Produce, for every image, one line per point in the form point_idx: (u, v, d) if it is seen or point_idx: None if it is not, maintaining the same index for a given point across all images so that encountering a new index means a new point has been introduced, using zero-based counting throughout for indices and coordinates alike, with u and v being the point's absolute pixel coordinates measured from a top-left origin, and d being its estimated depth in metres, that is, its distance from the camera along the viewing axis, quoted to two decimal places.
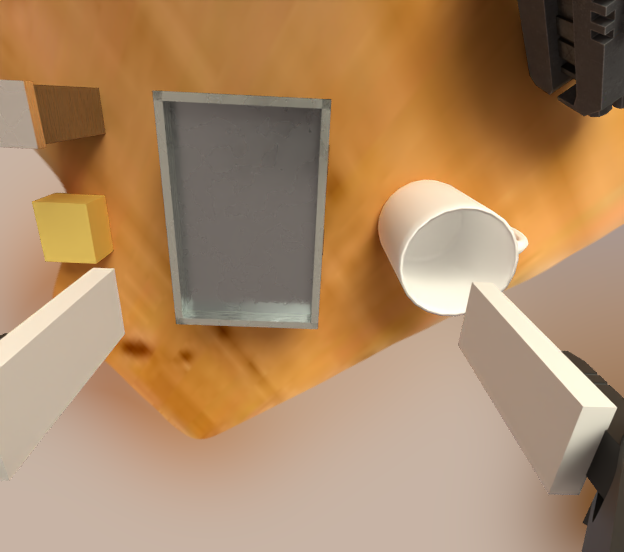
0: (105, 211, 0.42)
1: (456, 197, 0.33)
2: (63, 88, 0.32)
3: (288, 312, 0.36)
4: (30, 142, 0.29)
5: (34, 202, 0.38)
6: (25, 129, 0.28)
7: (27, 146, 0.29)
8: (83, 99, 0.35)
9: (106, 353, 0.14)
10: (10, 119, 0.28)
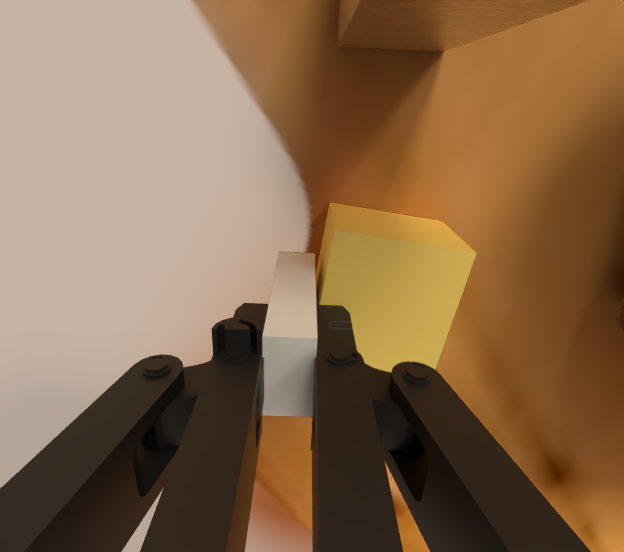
0: None
1: None
2: None
3: None
4: None
5: (340, 232, 0.14)
6: None
7: None
8: None
9: None
10: None
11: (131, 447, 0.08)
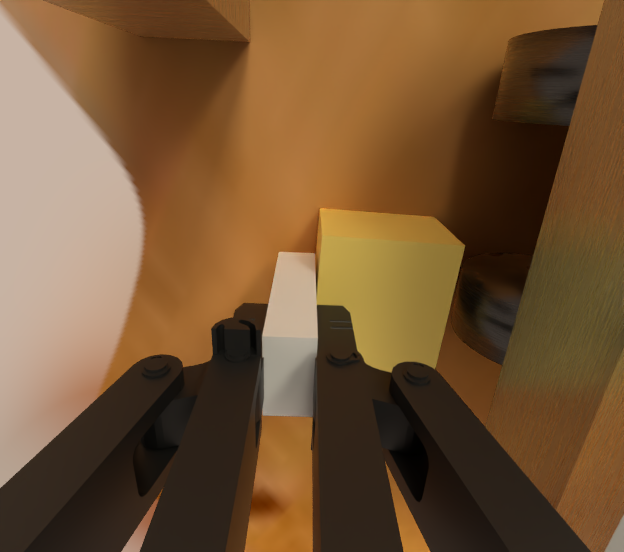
0: None
1: None
2: None
3: None
4: None
5: (327, 237, 0.14)
6: None
7: None
8: None
9: None
10: None
11: (131, 447, 0.08)
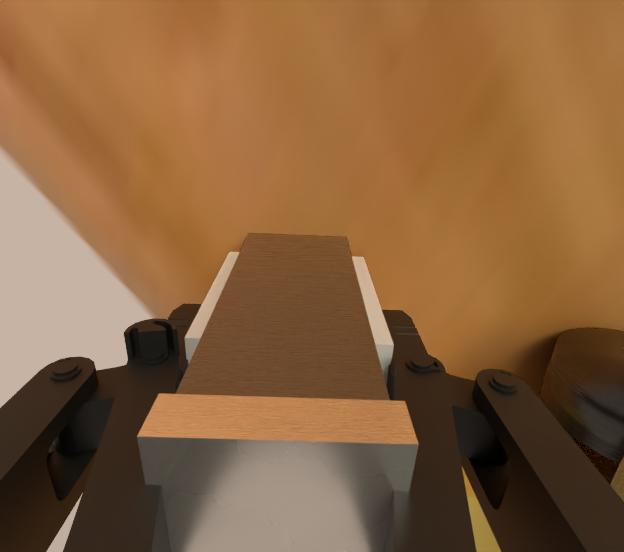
0: None
1: None
2: (363, 306, 0.11)
3: None
4: None
5: None
6: None
7: None
8: None
9: None
10: (317, 544, 0.07)
11: (43, 450, 0.08)
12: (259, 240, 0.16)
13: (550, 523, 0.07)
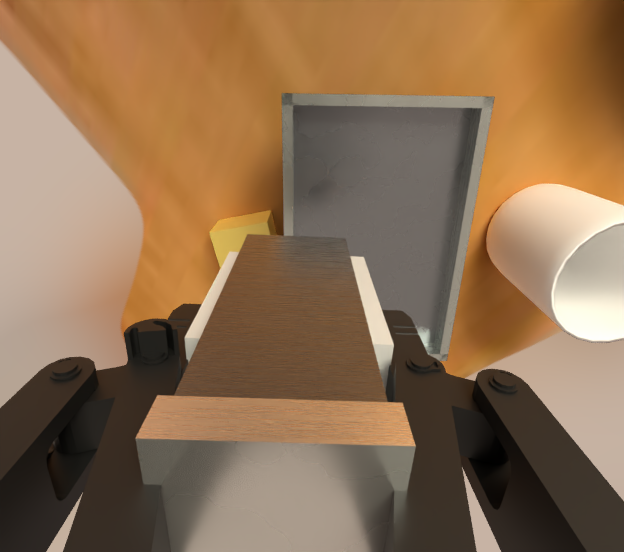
0: (274, 227, 0.37)
1: (612, 205, 0.28)
2: (361, 308, 0.11)
3: None
4: None
5: (211, 233, 0.34)
6: None
7: None
8: None
9: None
10: (315, 545, 0.07)
11: (44, 450, 0.08)
12: (258, 241, 0.16)
13: (550, 523, 0.07)
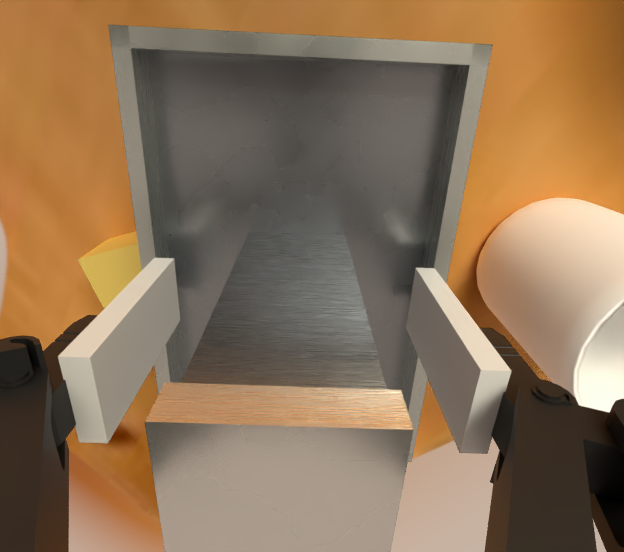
0: None
1: None
2: (362, 302, 0.12)
3: None
4: None
5: (81, 259, 0.24)
6: (361, 550, 0.08)
7: None
8: None
9: (168, 336, 0.15)
10: (317, 527, 0.08)
11: None
12: (259, 238, 0.16)
13: None
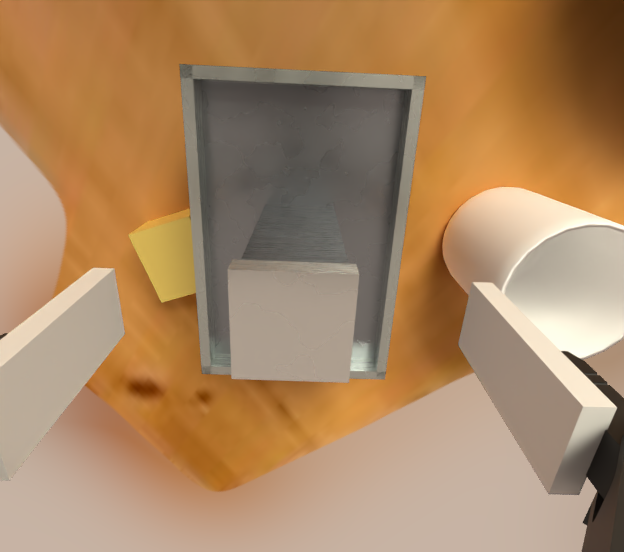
0: None
1: (569, 209, 0.25)
2: (341, 237, 0.18)
3: None
4: (338, 372, 0.15)
5: (130, 235, 0.31)
6: (335, 353, 0.15)
7: (330, 379, 0.15)
8: None
9: (106, 353, 0.14)
10: (312, 337, 0.14)
11: None
12: (273, 207, 0.23)
13: None
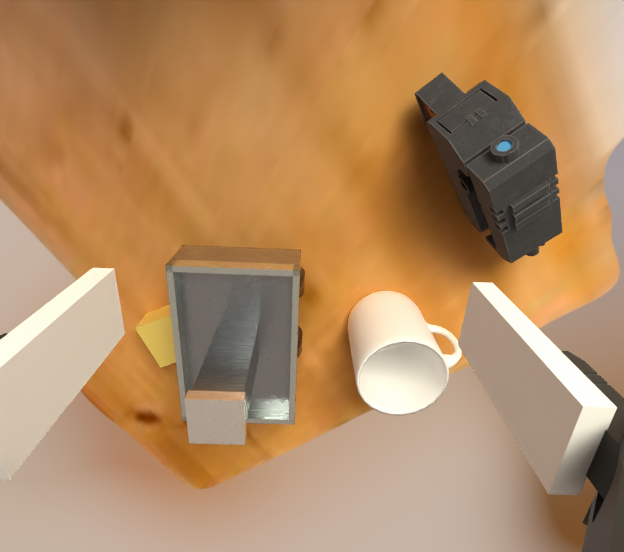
0: None
1: (401, 325, 0.42)
2: (250, 363, 0.35)
3: (271, 409, 0.45)
4: (239, 440, 0.32)
5: (136, 328, 0.48)
6: (237, 432, 0.32)
7: (235, 443, 0.32)
8: (254, 353, 0.38)
9: (106, 353, 0.14)
10: (225, 425, 0.31)
11: None
12: (221, 330, 0.40)
13: None
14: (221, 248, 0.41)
